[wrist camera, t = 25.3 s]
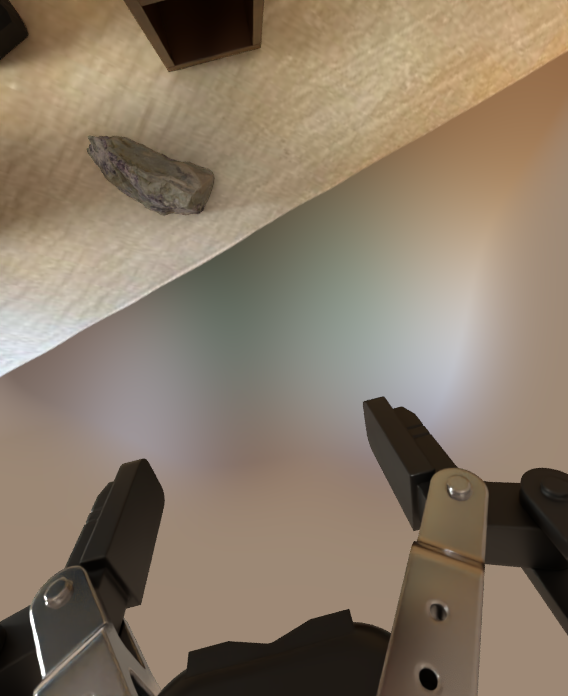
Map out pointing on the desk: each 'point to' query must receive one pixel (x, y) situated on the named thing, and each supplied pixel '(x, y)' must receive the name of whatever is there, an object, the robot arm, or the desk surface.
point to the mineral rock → (152, 175)
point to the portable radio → (10, 28)
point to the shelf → (199, 28)
